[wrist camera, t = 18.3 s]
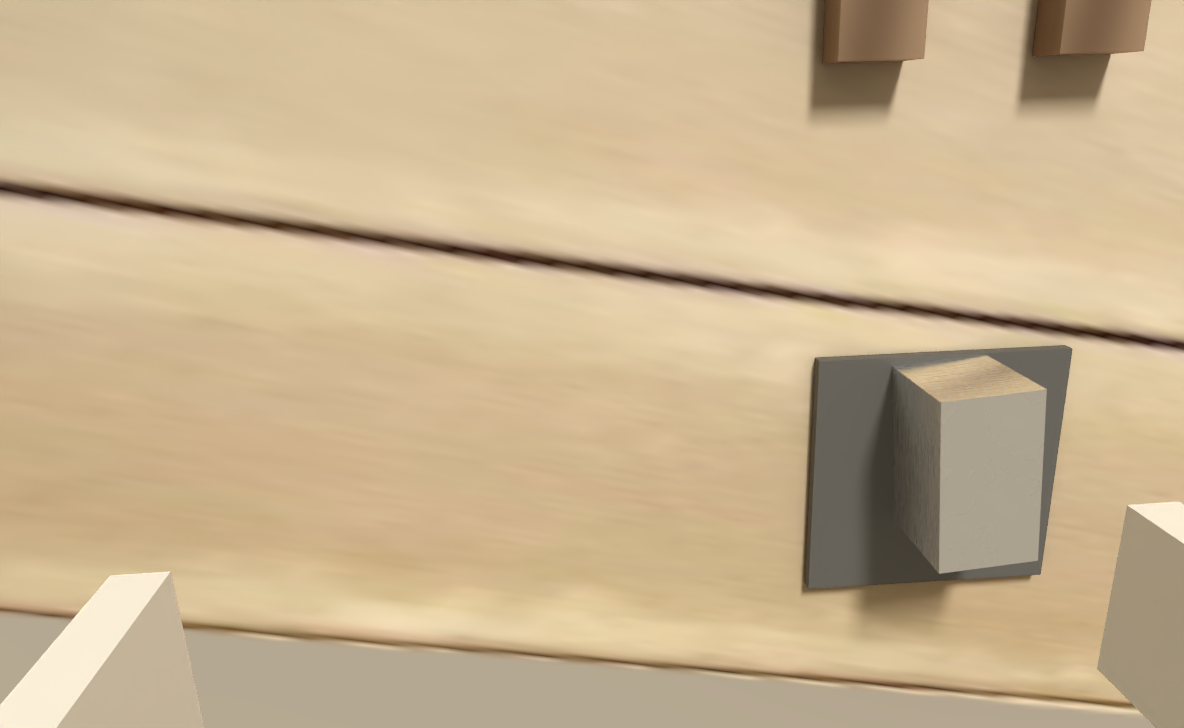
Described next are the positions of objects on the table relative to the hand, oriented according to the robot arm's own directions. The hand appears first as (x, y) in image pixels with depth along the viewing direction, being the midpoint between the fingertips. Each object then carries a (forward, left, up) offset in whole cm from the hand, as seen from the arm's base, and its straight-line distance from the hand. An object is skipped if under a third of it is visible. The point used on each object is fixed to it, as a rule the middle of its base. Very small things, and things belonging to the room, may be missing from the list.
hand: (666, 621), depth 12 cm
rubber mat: (+17, -11, -27) cm, 34 cm away
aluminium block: (+17, -9, -27) cm, 33 cm away
